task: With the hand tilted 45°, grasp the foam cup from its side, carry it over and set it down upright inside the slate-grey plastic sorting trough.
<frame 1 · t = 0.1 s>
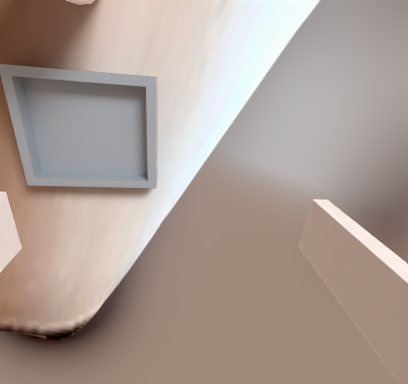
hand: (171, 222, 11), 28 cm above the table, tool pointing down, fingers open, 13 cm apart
sorting trough: (94, 130, 35), on the table
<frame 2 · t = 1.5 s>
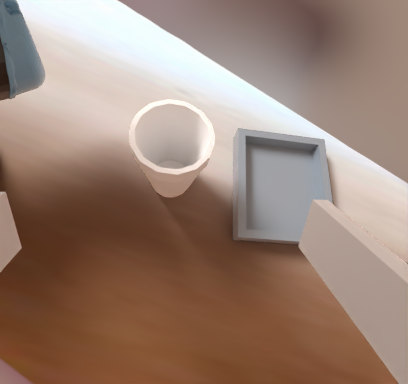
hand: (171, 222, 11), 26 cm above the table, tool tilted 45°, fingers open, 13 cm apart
foam cup: (170, 179, 39), on the table
sorting trough: (277, 189, 41), on the table
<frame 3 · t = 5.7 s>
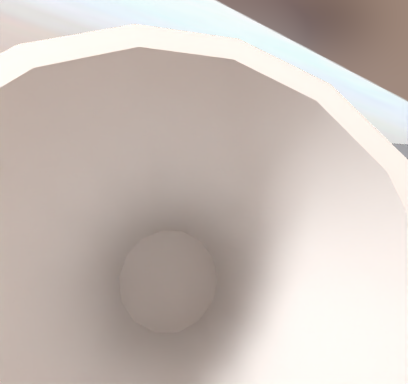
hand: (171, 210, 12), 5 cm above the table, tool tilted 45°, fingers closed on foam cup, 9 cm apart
foam cup: (169, 278, 16), on the table, touching gripper
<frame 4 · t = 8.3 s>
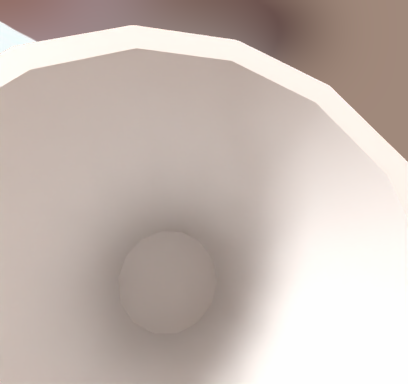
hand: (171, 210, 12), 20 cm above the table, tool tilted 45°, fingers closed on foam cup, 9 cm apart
foam cup: (168, 279, 16), point 15 cm above the table, touching gripper
when the fingers open (7 cm above the table, at t = 11.4 s): foam cup drops 1 cm, resting on sorting trough.
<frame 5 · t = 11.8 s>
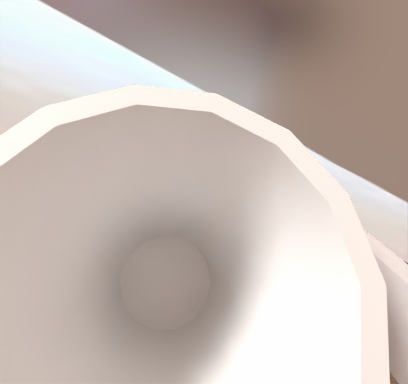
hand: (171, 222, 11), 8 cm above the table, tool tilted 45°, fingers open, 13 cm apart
foam cup: (166, 280, 17), point 1 cm above the table, touching sorting trough
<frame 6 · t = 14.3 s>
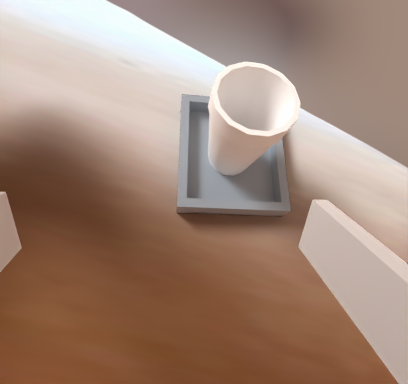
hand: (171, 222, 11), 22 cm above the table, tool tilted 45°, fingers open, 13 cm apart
foam cup: (228, 157, 37), point 1 cm above the table, touching sorting trough
sorting trough: (228, 158, 38), on the table
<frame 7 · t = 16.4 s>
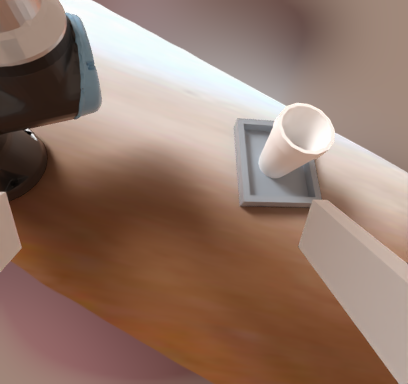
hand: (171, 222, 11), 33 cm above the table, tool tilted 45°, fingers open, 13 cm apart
foam cup: (272, 164, 50), point 1 cm above the table, touching sorting trough
sorting trough: (272, 165, 51), on the table
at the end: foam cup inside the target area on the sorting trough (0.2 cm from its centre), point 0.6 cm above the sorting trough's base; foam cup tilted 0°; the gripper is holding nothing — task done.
